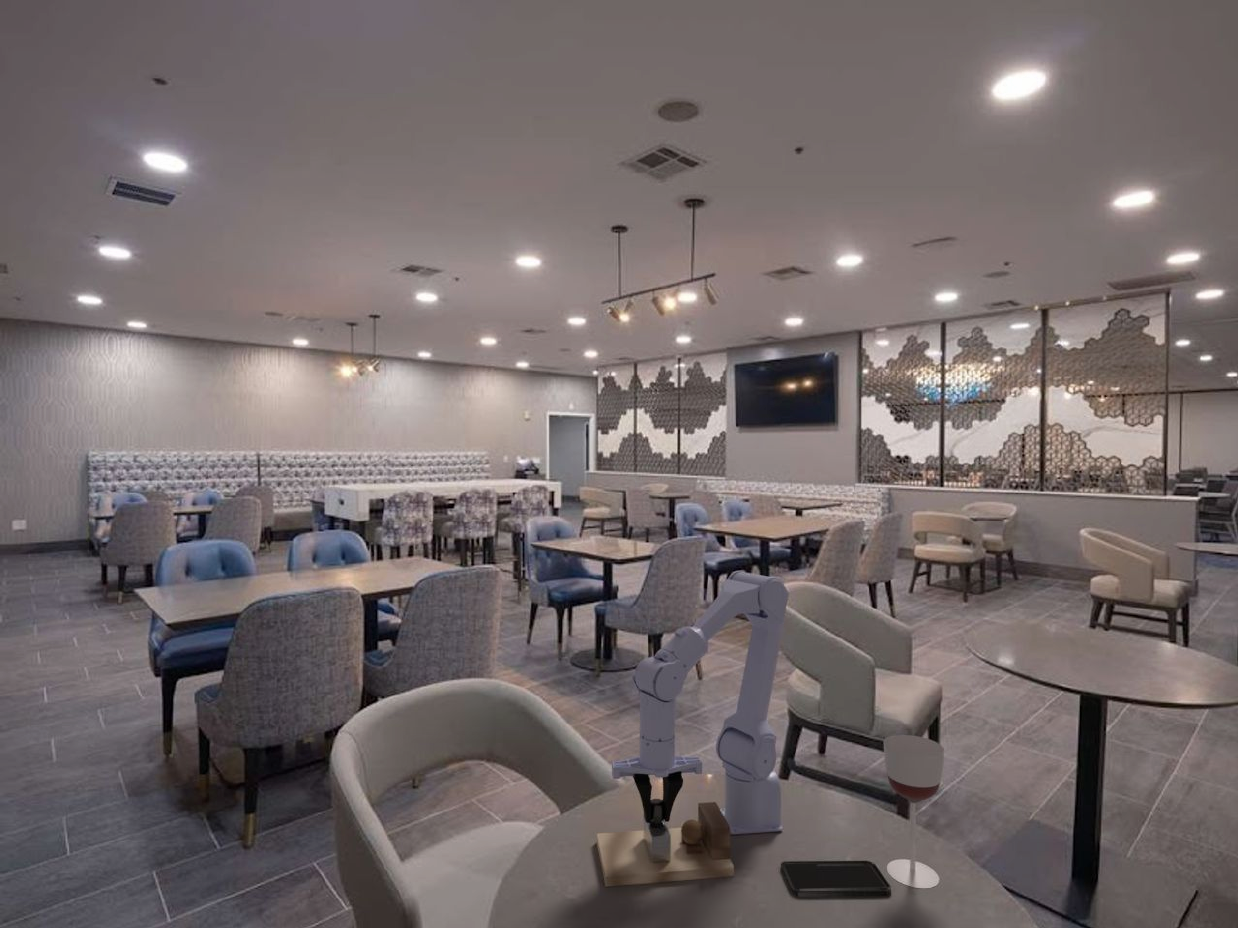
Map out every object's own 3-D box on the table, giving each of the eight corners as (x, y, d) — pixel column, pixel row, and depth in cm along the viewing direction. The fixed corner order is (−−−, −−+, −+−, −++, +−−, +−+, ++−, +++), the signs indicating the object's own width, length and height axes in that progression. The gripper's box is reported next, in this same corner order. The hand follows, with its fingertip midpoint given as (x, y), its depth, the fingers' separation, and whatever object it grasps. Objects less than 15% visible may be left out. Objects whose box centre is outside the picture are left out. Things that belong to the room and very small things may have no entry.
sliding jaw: (661, 836, 112) (661, 791, 112) (670, 860, 105) (670, 812, 105) (643, 837, 111) (643, 792, 111) (651, 862, 104) (652, 814, 104)
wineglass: (953, 889, 101) (953, 756, 101) (894, 888, 101) (895, 755, 101) (929, 858, 108) (930, 735, 109) (875, 857, 109) (876, 734, 109)
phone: (893, 891, 99) (793, 891, 99) (893, 898, 99) (793, 899, 99) (872, 860, 107) (779, 860, 106) (872, 867, 107) (778, 867, 106)
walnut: (699, 836, 111) (700, 814, 111) (705, 848, 107) (706, 825, 107) (678, 837, 110) (678, 815, 110) (683, 850, 107) (684, 827, 107)
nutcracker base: (711, 833, 115) (712, 796, 115) (733, 875, 104) (734, 833, 104) (596, 842, 113) (596, 803, 113) (605, 886, 101) (605, 843, 101)
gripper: (616, 746, 103) (615, 835, 103) (707, 742, 105) (707, 828, 105) (610, 729, 110) (609, 812, 110) (696, 725, 112) (695, 806, 112)
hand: (656, 819), depth 108 cm, fingers closed on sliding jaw, 2 cm apart
